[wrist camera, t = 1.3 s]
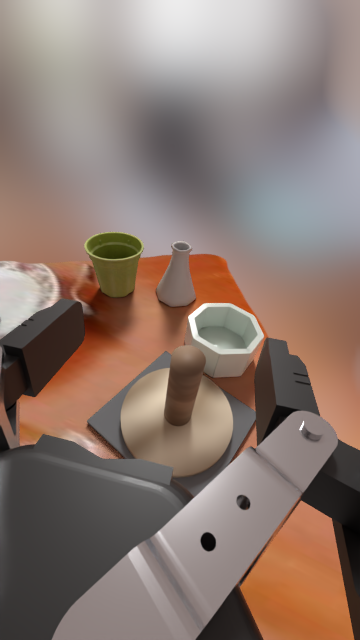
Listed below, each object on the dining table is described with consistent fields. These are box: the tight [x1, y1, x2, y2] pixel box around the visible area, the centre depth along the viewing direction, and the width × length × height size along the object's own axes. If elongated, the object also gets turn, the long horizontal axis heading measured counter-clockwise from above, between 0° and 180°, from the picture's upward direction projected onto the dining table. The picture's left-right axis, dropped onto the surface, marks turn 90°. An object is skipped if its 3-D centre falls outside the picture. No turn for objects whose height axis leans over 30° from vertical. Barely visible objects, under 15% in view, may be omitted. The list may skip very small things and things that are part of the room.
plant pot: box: [84, 232, 144, 297], centre depth 47 cm, size 9×9×9 cm
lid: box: [121, 345, 233, 478], centre depth 29 cm, size 13×13×11 cm
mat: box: [87, 351, 256, 497], centre depth 33 cm, size 15×14×1 cm
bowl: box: [184, 303, 264, 378], centre depth 40 cm, size 10×10×5 cm
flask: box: [156, 242, 196, 307], centre depth 47 cm, size 7×7×10 cm
